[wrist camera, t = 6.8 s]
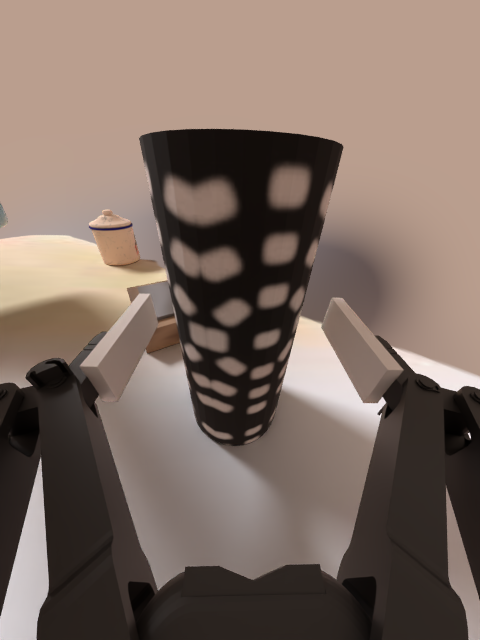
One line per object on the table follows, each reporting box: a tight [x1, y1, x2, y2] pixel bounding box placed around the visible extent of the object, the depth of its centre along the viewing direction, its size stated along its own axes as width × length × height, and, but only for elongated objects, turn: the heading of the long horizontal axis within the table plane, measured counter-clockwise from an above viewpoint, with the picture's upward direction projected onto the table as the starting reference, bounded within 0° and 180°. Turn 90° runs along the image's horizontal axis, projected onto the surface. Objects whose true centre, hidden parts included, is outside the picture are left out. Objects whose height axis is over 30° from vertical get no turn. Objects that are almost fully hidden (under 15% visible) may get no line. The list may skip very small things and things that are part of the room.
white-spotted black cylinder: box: [139, 129, 343, 446], centre depth 15 cm, size 8×8×20 cm
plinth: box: [127, 280, 180, 354], centre depth 32 cm, size 13×13×4 cm
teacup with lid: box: [89, 210, 140, 265], centre depth 50 cm, size 12×9×12 cm
